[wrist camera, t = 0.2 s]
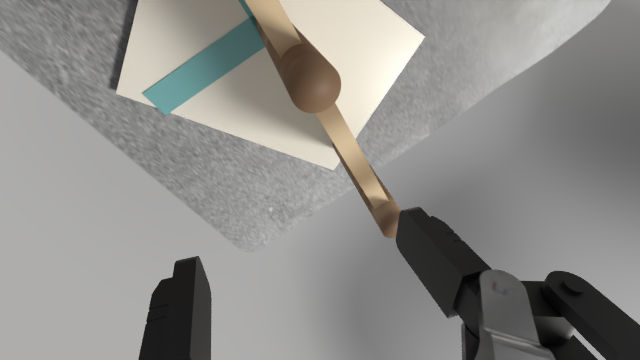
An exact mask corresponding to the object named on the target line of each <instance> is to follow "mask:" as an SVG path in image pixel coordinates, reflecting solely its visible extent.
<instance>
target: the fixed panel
mask: <svg viewBox="0 0 640 360" xmlns="http://www.w3.org/2000/svg"><path fill="white" fill-rule="evenodd" d="M245 2H246V3H247V5H248V7H249V8H250V10H251V11H252V13H253V15H254V16H255V18H256V27H257V30H258V33H259V35H260V37H261V39H262V41H263V43H264V45H265V47H266V49H267V51H268V53H269V55H270V57H271V59H272V61H273V63H274V65H275V67H276V69H277V71H278V73H279V75H280V77H281V79H282V81H283V83H284V86H285V88H286V90H287V92H288V94H289V96H290V98H291V100H292V102H293V103H294V105H295V106H296V107H297V108H298V109H300V110H301V111H303V112H306V113H320V112H323V111H325V110H327V109H328V108H330V107H331V106H332V105H333V104H334V103H335V102H336V100H337V99H338V97H339V94H340V91H341V79H340V75H339V73H338V71H337V70H336V69H335V68H334V67H333V66H332V64H331V63H330V62H329V61H328V60H327V59H326V58H325V57H324V56H323V55H322V54H321V53H320V52H319V51H318V50H317V49H316V48H315V47H314V46H313V45H312V44H311V43H310V42H309V41H308V40H307V38H306V37H305V36H304V35H303V34H302V33H301V32H300V31H299V30H298V29H297V28H296V27H295V26H294V25H293V24H292V23H291V21H290V20H289V18H288V16H287V14H286V12H285V10H284V9H283V7H282V5H281V3H280V1H279V0H245Z"/></svg>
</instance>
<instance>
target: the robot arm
mask: <svg viewBox="0 0 640 360" xmlns="http://www.w3.org/2000/svg"><path fill="white" fill-rule="evenodd" d="M396 243H397V247H398V249H399V251H400V253H401V254H402V255H403V257H404V258H405V259H406V261H407V262H408V264H409V265H410V267H411V268H412V269H413V271H414V272H415V273H416V275H417V276H418V277H419V279H420V280H421V282H422V283H423V285H424V286H425V287H426V289H427V290H428V291H429V293H430V294H431V296H432V297H433V299H434V300H435V301H436V303H437V304H438V306H439V307H440V308H441V310H442V311H443V313H444V314H445V315H446V317H447V318H451V317H454V316H457V315H459V316H460V318H461V319H462V320H463V321H462V324H461V334H462V336H461V337H462V360H598V359H597V358H596V357H595V356H594V355H593V354H592V353H591V352H590V351H588V349H587V348H586V347H585V346H584V345H583V344H582V343H581V342H580V341H579V340H578V339H577V338H576V337H575V336H574V335H573V334H574V333H575V332H576V330H577V331H578V332H579V333H580V334H581V335H582V336H583V337H584V338H585V339H586V340H587V341H588V342H589V343H590V344H591V345H592V346H593V347H594V348H595V349H596V350H597V351H598V352H599V353H600V354H601V355H602V356H603V357H604V358H605V359H606V360H640V325H639V324H638V323H637V322H635V321H634V320H633V319H632V318H630V317H629V316H628V315H627V314H626V313H624V312H623V311H622V310H621V309H620V308H618V307H617V306H616V305H615V304H614V303H612V302H611V301H610V300H609V299H608V298H606V297H605V296H604V295H603V294H602V293H600V292H599V291H598V290H597V289H595V288H594V287H593V286H592V285H591V284H589V283H588V282H587V281H585V280H584V279H582V278H581V277H578V276H577V275H574V274H572V273H569V272H564V271H553V272H551V273H549V275H548V276H547V278H546V279H545V281H520V280H518V279H517V278H516V277H514V276H513V275H511V274H509V273H507V272H505V271H501V270H496V269H491V268H490V267H489V266H488V265H487V264H486V263H485V262H484V261H483V260H482V259H481V258H480V257H479V256H478V255H477V254H476V253H475V252H474V251H473V250H472V249H471V248H470V247H469V246H468V245H467V244H466V243H465V242H464V241H462V240H461V238H460V237H459V236H458V235H457V234H456V233H454V231H453V230H452V229H451V228H450V227H449V226H448V225H447V224H446V223H445V222H443V221H441V220H439V219H438V218H436V217H434V216H431V217H429V216H428V215H427V214H426V212H424V211H423V210H422V208H420V207H415V208H411V209H406V210H402V211H401V212H400V214H399V220H398V226H397V233H396ZM139 360H211V291H210V286H209V282H208V279H207V277H206V274H205V271H204V268H203V265H202V263H201V260H200V258H199V256H196V257H191V258H187V259H183V260H178V261H176V262H175V265H174V272H173V277H172V278H168V279H163V280H161V281H160V283H159V284H158V286H157V288H156V289H155V290H154V292H153V294H152V297H151V302H150V307H149V312H148V317H147V324H146V326H145V331H144V336H143V340H142V346H141V350H140V355H139Z"/></svg>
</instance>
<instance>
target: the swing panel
mask: <svg viewBox="0 0 640 360" xmlns="http://www.w3.org/2000/svg"><path fill="white" fill-rule="evenodd" d="M315 114H316V116H317V117H318V119H319V120H320V122H321V124H322V125H323V127H324V128H325V130H326V132H327V133H328V135H329V136H330V138H331V140H332V141H333V148H334V150H335V152H336V154H337V155H338V157H339V159H340V161H341V162H342V164H343V166H344V167H345V169H346V171H347V173H348V174H349V176H350V178H351V180H352V181H353V183H354V185H355V186H356V188H357V190H358V192H359V193H360V195H361V197H362V199H363V200H364V202H365V204H366V205H367V207H368V209H369V211H370V212H371V214H372V216H373V217H374V219H375V221H376V223H377V224H378V226H379V228H380V229H381V231H382V233H383V235H384V236H385V237H388V238H393V237H396V233H397V226H398V220H399V214H400V212H401V209H400V208H399V206H398V205H397V203H396V202H395V201H394V199H393V198H392V196H391V195H390V193H389V192H388V190H387V189H386V188H385V186H384V185H383V183H382V182H381V180H380V179H379V178H378V176H377V175H376V173H375V172H374V170H373V169H372V168H371V166H370V165H369V163H368V162H367V160H366V158H365V156H364V155H363V153H362V151H361V149H360V147H359V145H358V144H357V142H356V140H355V138H354V136H353V135H352V133H351V131H350V129H349V127H348V125H347V124H346V122H345V120H344V118H343V116H342V114H341V113H340V111H339V109H338V107H337V105H336V104H335V103H334V104H333V105H332V106H331V107H330V108H328V109H327V110H325V111H323V112H320V113H315Z"/></svg>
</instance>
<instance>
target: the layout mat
mask: <svg viewBox="0 0 640 360" xmlns="http://www.w3.org/2000/svg"><path fill="white" fill-rule="evenodd" d="M279 1H280V3H281V5H282V7H283V9H284V10H285V12H286V14H287V16H288V18H289V20H290V21H291V23H292V24H293V25H294V26H295V27H296V28H297V29H298V30H299V31H300V32H301V33H302V34H303V35H304V36H305V37H306V38H307V40H308V41H309V42H310V43H311V44H312V45H313V46H314V47H315V48H316V49H317V50H318V51H319V52H320V53H321V54H322V55H323V56H324V57H325V58H326V59H327V60H328V61H329V62H330V63H331V64H332V66H333V67H334V68H335V69H336V70H337V71H338V73H339V75H340V79H341V91H340V94H339V97H338V99H337V100H336V102H335V104H336V105H337V107H338V109H339V111H340V113H341V114H342V116H343V118H344V120H345V122H346V124H347V125H348V127H349V129H350V131H351V133H352V135H353V136H354V138H356V137H357V135H358V134H359V132H360V131H361V130H362V128H363V127H364V125H365V124H366V122H367V121H368V119H369V118H370V116H371V115H372V113H373V112H374V111H375V109H376V108H377V106H378V105H379V103H380V102H381V100H382V99H383V97H384V96H385V95H386V93H387V92H388V90H389V89H390V87H391V86H392V84H393V83H394V81H395V80H396V78H397V77H398V76H399V74H400V73H401V71H402V70H403V68H404V67H405V65H406V64H407V62H408V61H409V59H410V58H411V57H412V55H413V54H414V52H415V51H416V49H417V48H418V46H419V45H420V43H421V42H422V40H423V39H424V38H425V36H423V35H422V34H421V33H420V32H418V31H417V30H416V29H415V28H413V27H412V26H411V25H410V24H408V23H407V22H406V21H404V20H403V19H402V18H401V17H399V16H398V15H397V14H396V13H394V12H393V11H392V10H391V9H389V8H388V7H387V6H386V5H384V4H383V3H382V2H381V1H379V0H279ZM116 94H119V95H122V96H124V97H127V98H130V99H133V100H136V101H139V102H141V103H144V104H147V105H150V106H153V107H156V108H158V109H159V110H160V111H161V112H162V113H163V114H164V115H165V116H166V115H167V114H169V113H173V114H175V115H178V116H181V117H184V118H187V119H190V120H192V121H195V122H198V123H201V124H204V125H207V126H209V127H212V128H215V129H218V130H221V131H224V132H226V133H229V134H232V135H235V136H238V137H241V138H243V139H246V140H249V141H252V142H255V143H258V144H260V145H263V146H266V147H269V148H272V149H275V150H277V151H280V152H283V153H286V154H289V155H292V156H294V157H297V158H300V159H303V160H306V161H309V162H311V163H314V164H317V165H320V166H323V167H326V168H328V169H331V170H334V169H335V168H336V166H337V165H338V163H339V162H340V159H339V157H338V155H337V154H336V152H335V150H334V148H333V141H332V140H331V138H330V136H329V135H328V133H327V132H326V130H325V128H324V127H323V125H322V124H321V122H320V120H319V119H318V117H317V116H316V114H315V113H306V112H303V111H301V110H300V109H298V108H297V107H296V106H295V105H294V103H293V102H292V100H291V98H290V96H289V94H288V92H287V90H286V88H285V86H284V83H283V81H282V79H281V77H280V75H279V73H278V71H277V69H276V67H275V65H274V63H273V61H272V59H271V57H270V55H269V53H268V51H267V49H266V47H265V45H264V43H263V41H262V39H261V37H260V35H259V33H258V30H257V27H256V18H255V16H254V15H253V13H252V11H251V10H250V8H249V7H248V5H247V3H246V2H245V0H138V4H137V9H136V13H135V17H134V21H133V25H132V29H131V33H130V38H129V42H128V46H127V50H126V54H125V58H124V62H123V67H122V71H121V75H120V79H119V83H118V87H117V92H116Z"/></svg>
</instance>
